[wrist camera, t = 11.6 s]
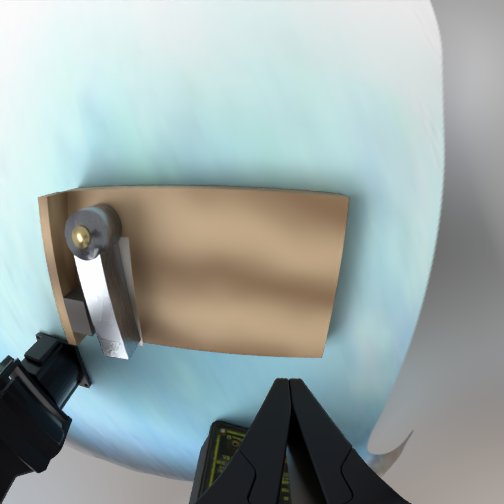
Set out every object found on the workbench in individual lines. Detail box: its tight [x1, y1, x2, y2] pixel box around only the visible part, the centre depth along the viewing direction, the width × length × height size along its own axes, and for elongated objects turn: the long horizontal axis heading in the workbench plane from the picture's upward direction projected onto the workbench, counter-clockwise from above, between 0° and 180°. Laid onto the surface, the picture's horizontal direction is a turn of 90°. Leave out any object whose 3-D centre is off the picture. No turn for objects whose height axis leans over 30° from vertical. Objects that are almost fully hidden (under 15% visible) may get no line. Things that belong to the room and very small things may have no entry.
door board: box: [38, 185, 349, 358], centre depth 18 cm, size 12×20×4 cm, turn 87°
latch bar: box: [65, 203, 141, 359], centre depth 17 cm, size 11×3×3 cm, turn 2°
